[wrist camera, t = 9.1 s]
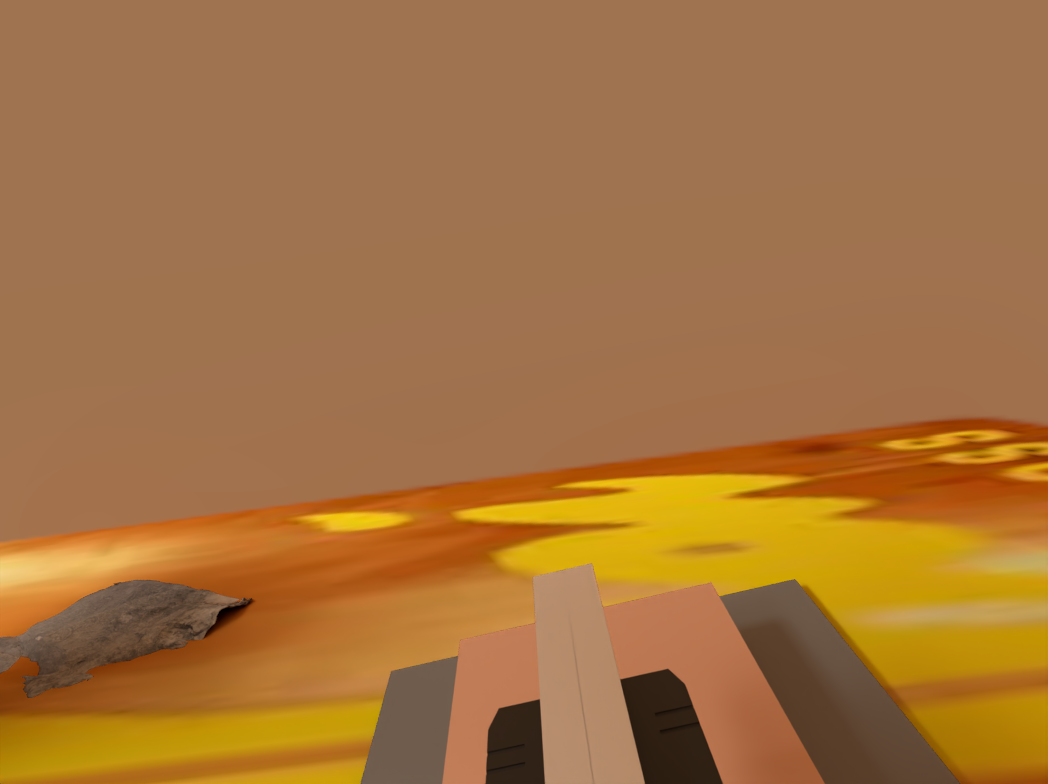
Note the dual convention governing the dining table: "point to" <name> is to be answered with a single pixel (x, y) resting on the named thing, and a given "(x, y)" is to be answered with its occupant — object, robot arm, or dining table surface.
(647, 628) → the terracotta tile
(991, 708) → the dining table surface
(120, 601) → the stone slab
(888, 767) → the rubber mat
